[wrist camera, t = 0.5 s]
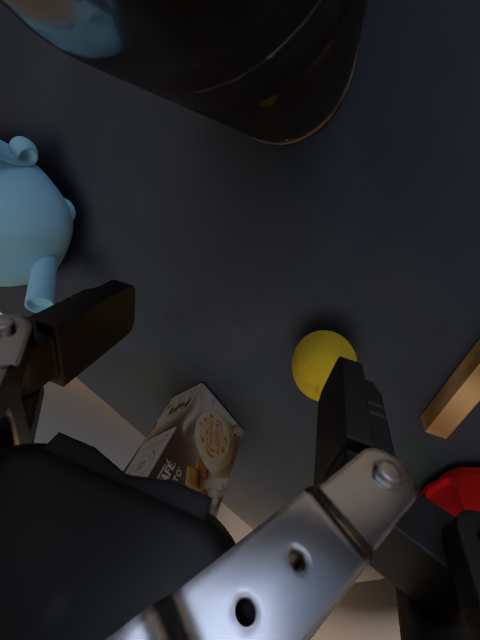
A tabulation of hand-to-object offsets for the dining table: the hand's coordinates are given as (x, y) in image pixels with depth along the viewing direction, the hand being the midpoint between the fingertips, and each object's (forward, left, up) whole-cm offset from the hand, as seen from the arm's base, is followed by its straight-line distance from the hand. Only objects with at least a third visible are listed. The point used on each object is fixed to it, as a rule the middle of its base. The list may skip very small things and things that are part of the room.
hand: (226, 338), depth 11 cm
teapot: (+4, -27, -18) cm, 32 cm away
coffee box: (+24, -4, -18) cm, 30 cm away
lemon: (+8, +6, -18) cm, 21 cm away
